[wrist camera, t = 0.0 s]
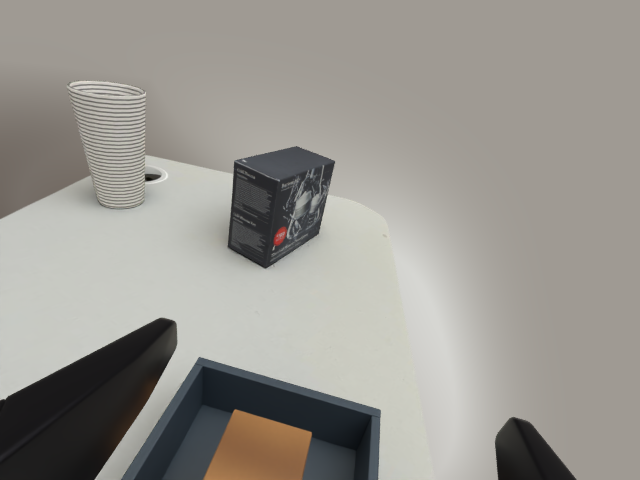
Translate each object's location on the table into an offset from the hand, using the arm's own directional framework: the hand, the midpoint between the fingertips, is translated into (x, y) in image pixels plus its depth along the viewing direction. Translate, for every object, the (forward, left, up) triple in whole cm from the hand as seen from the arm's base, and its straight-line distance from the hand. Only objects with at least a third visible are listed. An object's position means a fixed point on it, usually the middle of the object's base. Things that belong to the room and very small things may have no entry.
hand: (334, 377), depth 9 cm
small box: (+35, +10, -18) cm, 40 cm away
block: (+3, +2, -18) cm, 18 cm away
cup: (+35, +34, -18) cm, 52 cm away
